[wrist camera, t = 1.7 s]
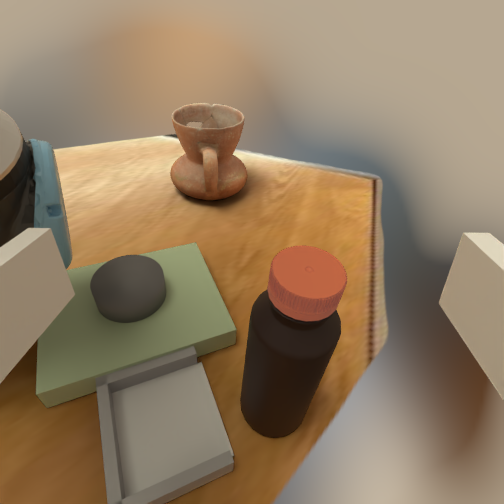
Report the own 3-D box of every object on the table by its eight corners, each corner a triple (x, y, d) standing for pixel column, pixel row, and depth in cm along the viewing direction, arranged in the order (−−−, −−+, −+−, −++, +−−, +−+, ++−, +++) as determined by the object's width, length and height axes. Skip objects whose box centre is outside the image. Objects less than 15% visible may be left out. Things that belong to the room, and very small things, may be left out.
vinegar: (264, 361, 38) (292, 223, 24) (316, 399, 35) (379, 266, 22) (226, 408, 34) (234, 273, 20) (281, 455, 31) (332, 334, 17)
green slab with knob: (45, 561, 24) (11, 551, 20) (48, 291, 43) (30, 258, 39) (281, 447, 31) (291, 422, 27) (196, 257, 50) (194, 226, 46)
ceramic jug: (176, 165, 70) (170, 95, 61) (243, 168, 72) (248, 99, 62) (166, 215, 57) (156, 135, 47) (249, 217, 58) (255, 139, 49)
